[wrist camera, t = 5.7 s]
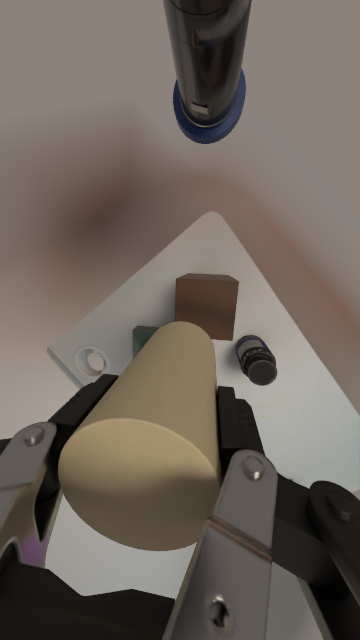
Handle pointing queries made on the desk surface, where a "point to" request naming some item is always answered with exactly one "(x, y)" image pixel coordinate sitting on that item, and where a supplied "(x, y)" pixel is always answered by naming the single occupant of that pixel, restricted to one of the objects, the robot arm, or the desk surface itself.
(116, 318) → the desk surface
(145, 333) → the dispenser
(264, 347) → the pill bottle
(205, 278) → the stand
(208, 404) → the tan cylinder
